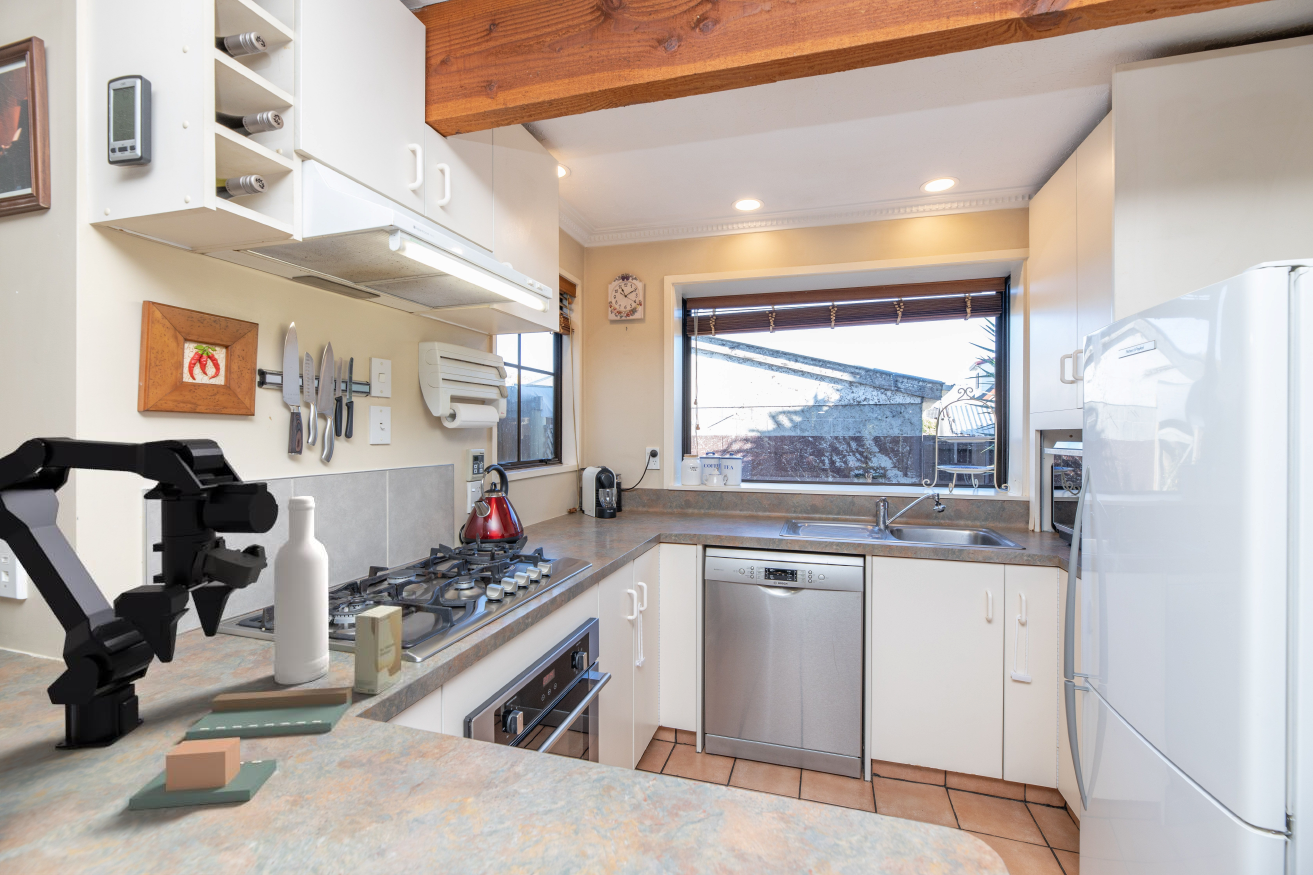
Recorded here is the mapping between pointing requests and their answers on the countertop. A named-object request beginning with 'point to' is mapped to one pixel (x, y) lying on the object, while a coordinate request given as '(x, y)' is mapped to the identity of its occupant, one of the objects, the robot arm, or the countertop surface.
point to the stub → (204, 776)
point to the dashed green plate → (273, 713)
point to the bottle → (301, 600)
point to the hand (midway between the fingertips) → (190, 648)
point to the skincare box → (377, 649)
